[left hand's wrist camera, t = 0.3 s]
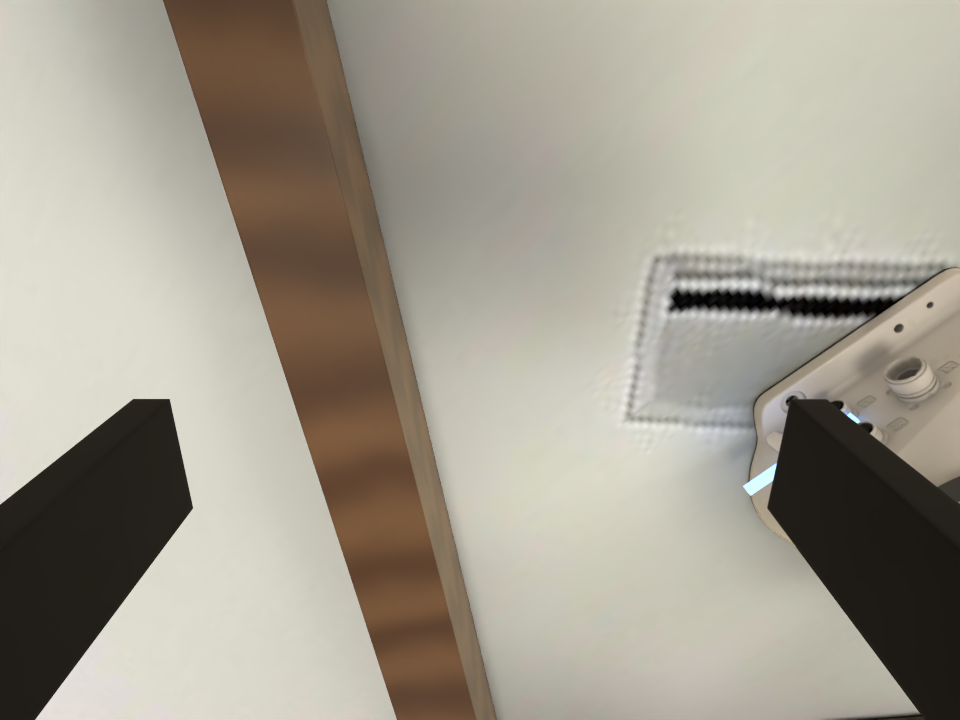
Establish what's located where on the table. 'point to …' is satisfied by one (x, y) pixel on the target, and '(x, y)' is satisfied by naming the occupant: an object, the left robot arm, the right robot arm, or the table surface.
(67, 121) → the table surface
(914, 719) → the toy
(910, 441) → the right robot arm
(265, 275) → the post
